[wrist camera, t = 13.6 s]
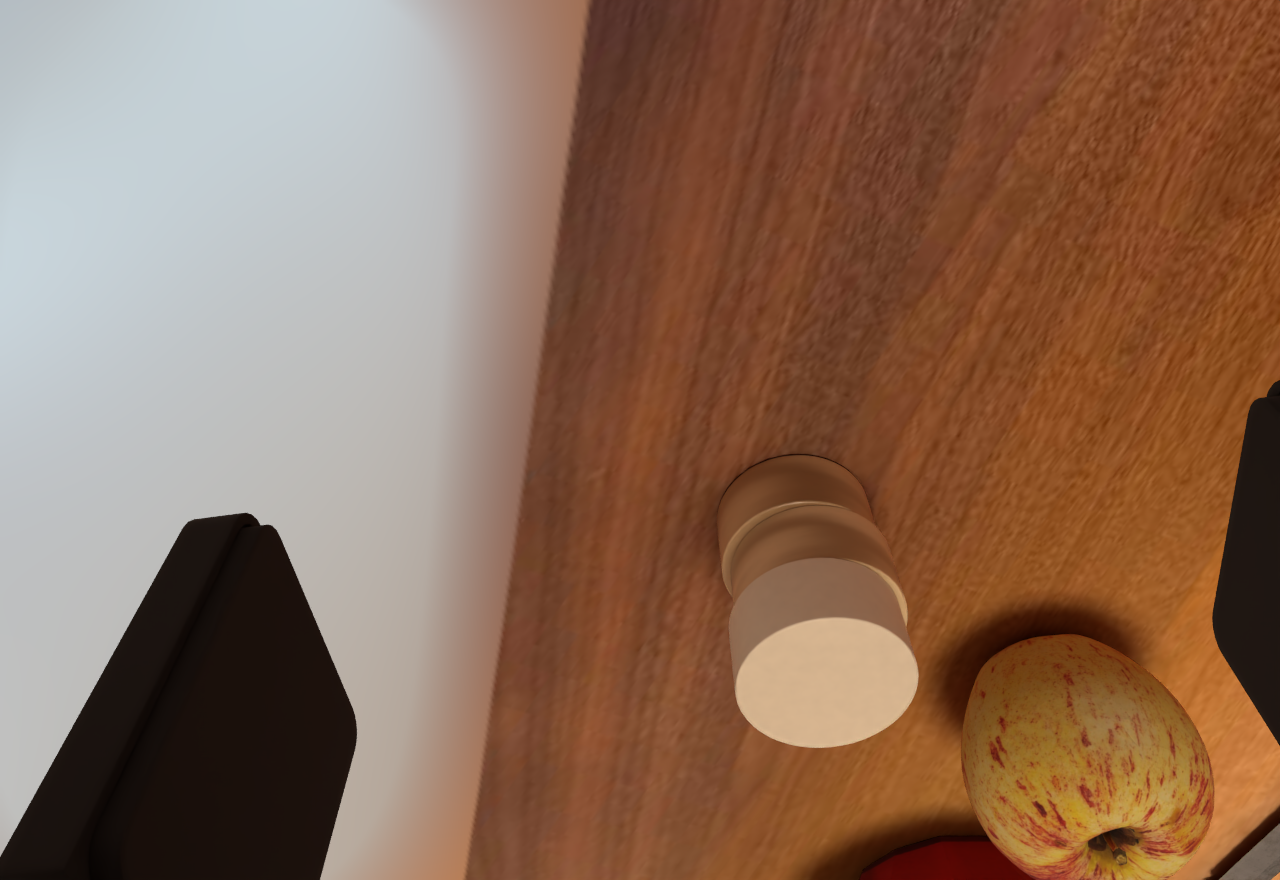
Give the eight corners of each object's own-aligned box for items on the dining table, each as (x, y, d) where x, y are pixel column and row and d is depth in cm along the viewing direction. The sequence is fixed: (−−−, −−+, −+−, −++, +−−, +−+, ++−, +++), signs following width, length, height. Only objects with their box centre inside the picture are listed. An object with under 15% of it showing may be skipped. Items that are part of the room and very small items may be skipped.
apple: (925, 743, 51) (983, 946, 42) (942, 596, 46) (1011, 793, 37) (1124, 734, 50) (1222, 936, 42) (1163, 584, 46) (1282, 780, 37)
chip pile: (725, 586, 45) (737, 694, 40) (708, 464, 42) (718, 566, 37) (879, 568, 45) (909, 675, 40) (873, 443, 42) (906, 543, 37)
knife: (1418, 665, 48) (1436, 688, 47) (1479, 685, 49) (1499, 708, 48) (1060, 997, 62) (1067, 1021, 61) (1111, 1009, 63) (1119, 1033, 62)
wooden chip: (737, 692, 40) (744, 757, 38) (719, 568, 37) (725, 629, 35) (902, 674, 40) (920, 738, 37) (898, 546, 37) (917, 607, 34)
